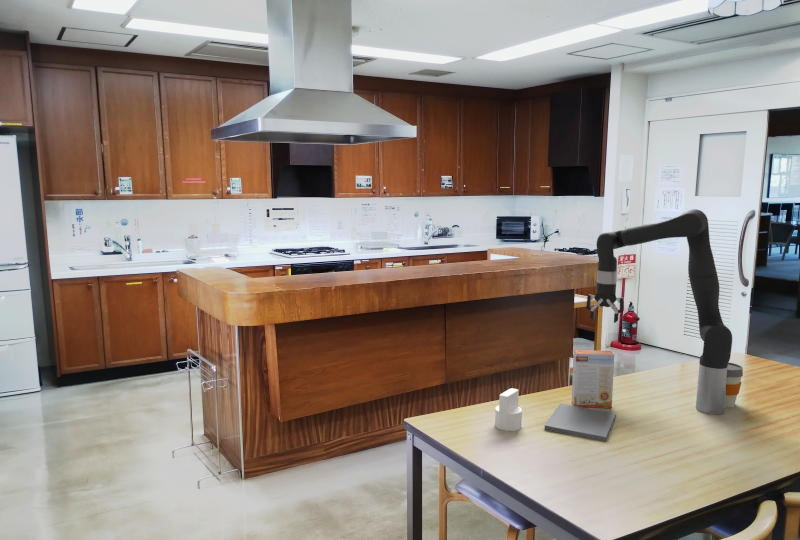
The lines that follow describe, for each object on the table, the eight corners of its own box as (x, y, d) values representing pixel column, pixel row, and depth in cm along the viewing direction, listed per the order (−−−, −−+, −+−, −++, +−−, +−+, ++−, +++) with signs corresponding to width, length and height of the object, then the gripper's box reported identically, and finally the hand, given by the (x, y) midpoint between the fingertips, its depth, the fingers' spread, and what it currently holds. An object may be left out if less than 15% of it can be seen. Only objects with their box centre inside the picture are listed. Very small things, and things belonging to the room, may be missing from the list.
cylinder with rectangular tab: (514, 433, 198) (515, 398, 196) (490, 426, 203) (491, 393, 202) (525, 424, 205) (527, 391, 203) (502, 418, 210) (503, 386, 209)
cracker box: (608, 403, 226) (611, 350, 223) (612, 408, 220) (615, 354, 217) (570, 401, 228) (573, 348, 225) (573, 407, 222) (576, 353, 219)
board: (615, 416, 212) (616, 413, 212) (605, 441, 192) (606, 437, 191) (559, 407, 221) (559, 403, 221) (544, 429, 201) (544, 425, 201)
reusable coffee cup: (746, 409, 220) (750, 370, 218) (712, 408, 221) (716, 369, 219) (728, 397, 233) (732, 361, 231) (696, 397, 233) (700, 360, 231)
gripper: (586, 281, 237) (584, 321, 239) (624, 284, 230) (621, 325, 233) (589, 279, 243) (587, 317, 246) (626, 282, 237) (623, 321, 239)
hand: (604, 321), depth 239 cm, fingers open, 8 cm apart
